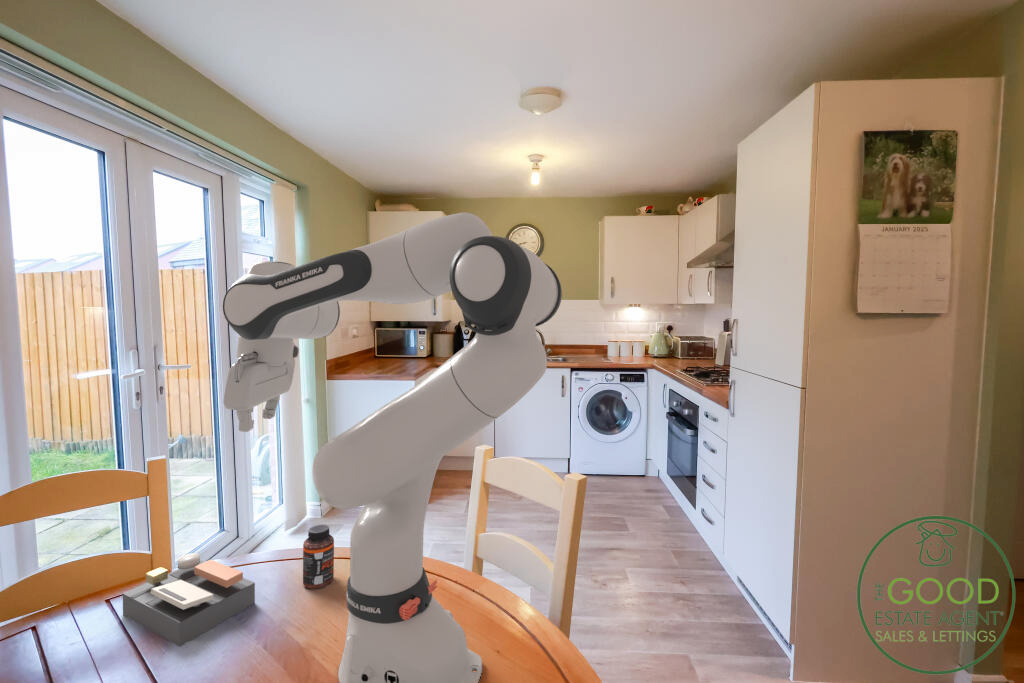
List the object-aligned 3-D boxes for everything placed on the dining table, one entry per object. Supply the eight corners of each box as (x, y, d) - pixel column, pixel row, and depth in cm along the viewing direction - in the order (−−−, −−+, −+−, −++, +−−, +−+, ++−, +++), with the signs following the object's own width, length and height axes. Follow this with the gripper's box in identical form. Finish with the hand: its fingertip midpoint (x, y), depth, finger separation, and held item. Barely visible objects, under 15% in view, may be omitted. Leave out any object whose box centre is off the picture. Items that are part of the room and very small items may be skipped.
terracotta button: (242, 579, 83) (242, 572, 83) (226, 587, 80) (226, 580, 80) (210, 566, 87) (210, 559, 87) (194, 574, 84) (194, 566, 84)
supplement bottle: (326, 590, 89) (326, 535, 88) (297, 590, 89) (297, 534, 89) (338, 574, 95) (338, 522, 94) (311, 573, 95) (311, 521, 95)
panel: (255, 603, 84) (255, 582, 84) (179, 646, 73) (179, 622, 73) (199, 578, 92) (198, 559, 92) (122, 614, 81) (122, 592, 80)
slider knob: (168, 583, 83) (167, 570, 83) (153, 589, 81) (153, 576, 81) (160, 579, 84) (160, 567, 84) (146, 586, 82) (146, 573, 82)
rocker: (212, 601, 78) (213, 593, 78) (182, 612, 74) (184, 603, 74) (179, 586, 82) (181, 579, 82) (150, 595, 78) (151, 588, 78)
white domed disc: (204, 562, 89) (204, 555, 88) (184, 571, 85) (184, 564, 85) (193, 558, 90) (193, 551, 90) (173, 566, 87) (173, 559, 87)
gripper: (258, 357, 71) (250, 441, 71) (302, 348, 91) (295, 413, 92) (216, 352, 70) (208, 438, 71) (270, 344, 90) (263, 410, 91)
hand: (257, 424), depth 81 cm, fingers open, 8 cm apart
